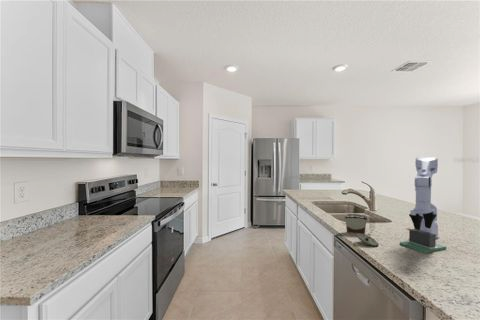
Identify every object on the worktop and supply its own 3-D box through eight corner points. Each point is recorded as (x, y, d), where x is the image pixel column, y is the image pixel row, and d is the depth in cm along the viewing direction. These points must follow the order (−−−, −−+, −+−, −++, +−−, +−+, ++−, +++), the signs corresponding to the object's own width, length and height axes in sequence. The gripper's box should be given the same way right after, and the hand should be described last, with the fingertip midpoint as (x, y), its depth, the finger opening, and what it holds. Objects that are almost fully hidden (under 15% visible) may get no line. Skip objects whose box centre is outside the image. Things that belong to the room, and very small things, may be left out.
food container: (365, 231, 146) (365, 214, 146) (367, 234, 140) (367, 216, 140) (342, 229, 149) (342, 213, 149) (344, 232, 143) (344, 215, 143)
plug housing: (410, 238, 128) (410, 227, 128) (435, 246, 117) (435, 234, 117) (404, 239, 127) (404, 228, 127) (429, 247, 115) (429, 235, 115)
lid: (359, 239, 132) (359, 229, 132) (380, 243, 126) (380, 233, 126) (354, 244, 124) (354, 234, 124) (376, 249, 117) (376, 238, 117)
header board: (420, 241, 129) (420, 233, 129) (446, 249, 117) (446, 240, 117) (399, 244, 124) (399, 236, 123) (424, 253, 112) (424, 243, 112)
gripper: (424, 198, 126) (424, 225, 127) (404, 200, 122) (404, 227, 122) (439, 201, 120) (439, 228, 120) (418, 202, 115) (418, 231, 115)
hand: (422, 228), depth 120 cm, fingers open, 7 cm apart
